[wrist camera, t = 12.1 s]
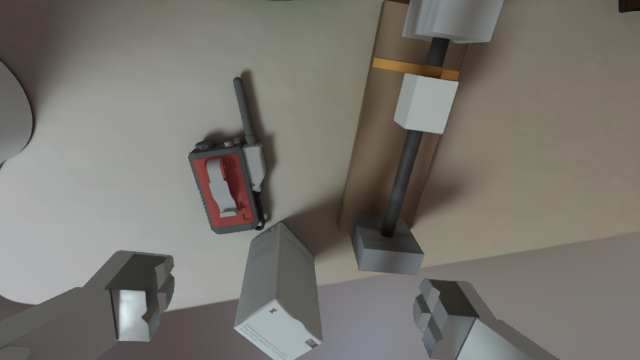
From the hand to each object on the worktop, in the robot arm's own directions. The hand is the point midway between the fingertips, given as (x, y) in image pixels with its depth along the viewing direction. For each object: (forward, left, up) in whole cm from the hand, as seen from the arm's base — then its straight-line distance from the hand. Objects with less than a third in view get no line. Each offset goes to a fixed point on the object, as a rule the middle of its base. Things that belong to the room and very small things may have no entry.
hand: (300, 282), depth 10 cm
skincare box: (0, -20, -29) cm, 36 cm away
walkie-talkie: (-8, -7, -30) cm, 32 cm away
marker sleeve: (+12, +4, -25) cm, 28 cm away
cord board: (+12, -1, -29) cm, 31 cm away
